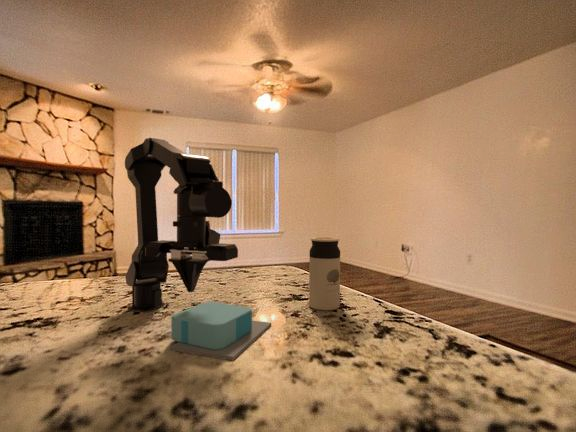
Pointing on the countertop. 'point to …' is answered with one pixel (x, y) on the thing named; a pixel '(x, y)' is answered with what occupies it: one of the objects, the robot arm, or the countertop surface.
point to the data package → (211, 325)
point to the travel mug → (324, 274)
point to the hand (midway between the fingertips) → (191, 291)
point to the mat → (230, 350)
